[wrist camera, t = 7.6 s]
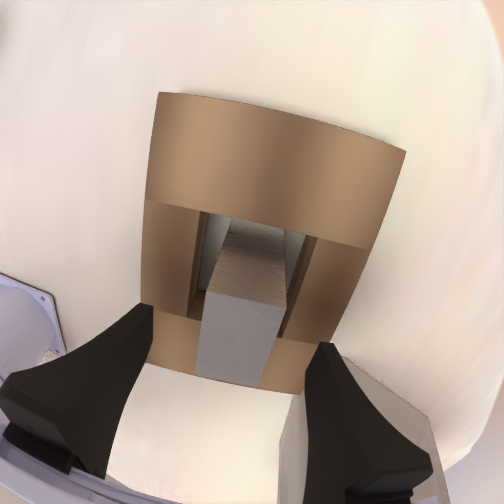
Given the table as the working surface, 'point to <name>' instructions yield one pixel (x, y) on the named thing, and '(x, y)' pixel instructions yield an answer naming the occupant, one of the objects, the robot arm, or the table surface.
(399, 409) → the tall grey carton
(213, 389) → the table surface
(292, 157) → the well block
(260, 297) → the brushed metal block
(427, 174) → the table surface
